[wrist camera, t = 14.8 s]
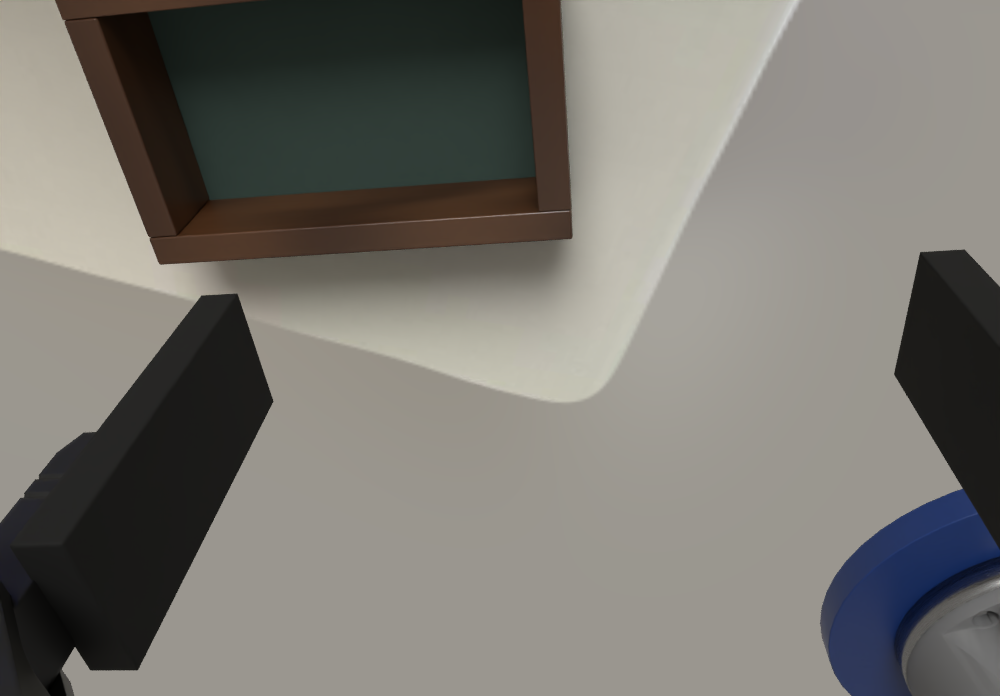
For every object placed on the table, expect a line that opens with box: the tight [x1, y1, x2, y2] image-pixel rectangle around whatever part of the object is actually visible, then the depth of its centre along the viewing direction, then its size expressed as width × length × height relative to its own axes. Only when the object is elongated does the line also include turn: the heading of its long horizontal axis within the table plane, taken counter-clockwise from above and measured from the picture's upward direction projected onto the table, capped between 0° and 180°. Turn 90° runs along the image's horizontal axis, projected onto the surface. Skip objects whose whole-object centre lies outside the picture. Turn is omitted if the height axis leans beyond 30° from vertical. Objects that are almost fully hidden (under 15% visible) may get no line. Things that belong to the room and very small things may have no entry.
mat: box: [147, 0, 536, 200], centre depth 30 cm, size 12×16×1 cm
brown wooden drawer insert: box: [55, 0, 573, 265], centre depth 29 cm, size 16×10×4 cm, turn 96°
